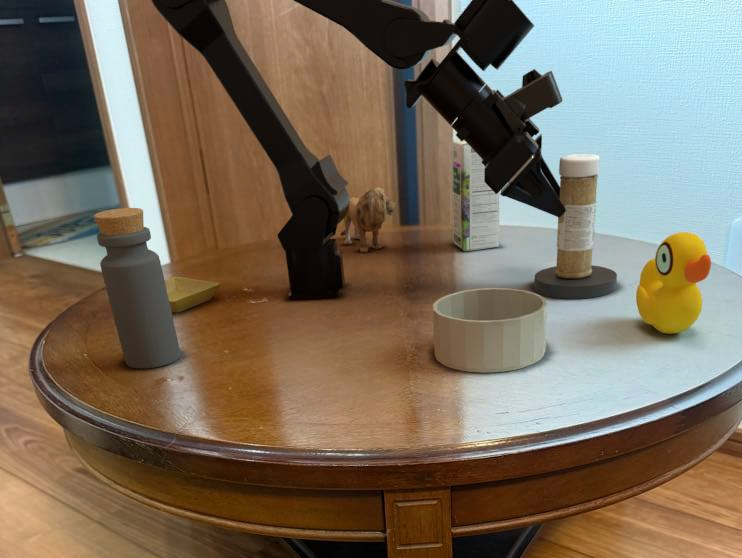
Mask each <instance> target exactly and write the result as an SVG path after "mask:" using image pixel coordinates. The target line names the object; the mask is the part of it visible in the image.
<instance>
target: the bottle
mask: <svg viewBox="0 0 742 558" xmlns="http://www.w3.org/2000/svg"><path fill="white" fill-rule="evenodd" d="M93 219H94V221H95V223H96V225H97V228H98V229H99V233H97V234H96V240H97V242H98V245H99V246H100V247H102V248H105V250H106V255H105V256H104V257H102V259H101V260H100V263H99V264H100V265H99V266H100V270H101V274H102V279H103V282H104V286H105V289H106V293H107V297H108V300H109V305H110V309H111V312H112V316H113V320H114V325H115V327H116V333H117V336H118V340H119V344H120V347H121V350H122V354H123V358H124V361H125V364H126V366H128V367H130V368H133V369H154V368H159V367H164V366H167V365H169V364H172V363H174V362H176V361H178V359H179V358H181V350H180V344H179V340H178V336H177V335H178V334H177V329H176V327H175V321H174V317H173V312H171V307H170V303H169V298H168V294H167V289H166V285H165V280H166V279H165V276H164V272H163V267H162V263H161V259H160V256H159V254H158V253H156V252H155V251H154V250H151V249H149V248H148V244H147V242H149V241H150V240H151V239H152V235H151V230H150V229H149V227H146V226H144V209H142V208H138V207H122V208H113V209H108V210H103V211H99V212H96V213H95V214H93Z"/></svg>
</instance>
